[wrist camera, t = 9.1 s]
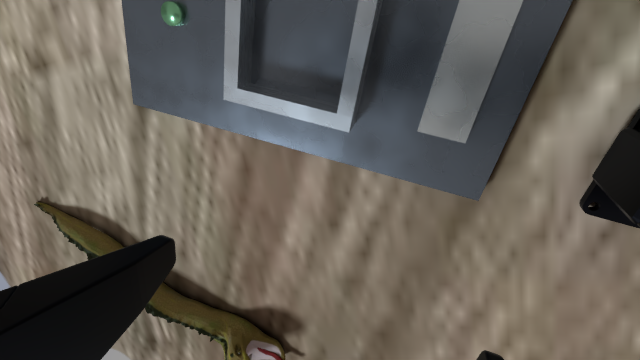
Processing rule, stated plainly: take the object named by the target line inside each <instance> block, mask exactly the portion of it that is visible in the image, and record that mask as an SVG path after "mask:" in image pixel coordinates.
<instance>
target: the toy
mask: <svg viewBox="0 0 640 360" xmlns="http://www.w3.org/2000/svg"><path fill="white" fill-rule="evenodd" d="M34 205H35V206H37V207H39V208H40V209H41V210H42V211H44V212H45V213H47V214H49V215H51V216H52V218H53V220H54V223H55V224H56V225H57V228H59V231H60V232H62V233H63V234H64V237H67V238H68V239H69V241H68V242H71V243H73V244H76V247H78V248H79V250H81V251H84V252H85V253H86V254H87V256H88V260H91V259H93V258H96V257H99V256H102V255H105V254H108V253H110V252H113V251H116V250H119V249H122V248H124V247H123V246H122V245H121V244H120V243H119V242H117V241H116V240H114V239H113V238H111V237H109V236H108V235H107V234H105V233H102V232H100V231H99V230H97V229H95V228H93V227H91V226H90V225H88V224H86V223H84V222H83V221H81V220H79V219H76V218H74V217H71V216H69V215H68V214H66V213H64V212H62V211H60V210H58V209H56V208H54V207H52V206H50V205H48V204H45V203H41V202H36V204H34ZM145 309H146V312H147V313H151V314H152V315H153V316H158V317H161V318H164V319H166V320H167V322H168V323H171V322H173V321H174V322H176V323H179V324H180V323H181V324H182V325H183V326H185V327H190V329H195V330H197V331H198V333H199V335H200V334H201V333H202V334H203V335H207V336H209V337H211V340H210V342H211V341H212V340H213V339H214V340H215V341H217V342H218V343H220V344H221V345H222V347H223V350H224V359H225V360H285V353H284V350H283V348H282V346H281V345H280V343H279V342H278V341H277V340H276V339H274V338H271V337H269V336H267V335H266V334H264V333H263V332H262V331H260V330H259V329H258V328H257V327H255V326H254V325H253V324H251V323H250V322H248V321H247V320H245V319H243V318H241V317H239V316H237V315H234V314H231V313H229V312H226V311H223V310H220V309H215V308H212V307H210V306H207V305H205V304H203V303H200V302H198V301H195V300H193V299H189V298H186V297H184V296H182V295H180V294H179V293H177V292H176V291H174V290H173V289H171V288H170V287H168V286H167V285H165V284H164V283H163V282H162V284H161V285H160V287H159V288H158V290H157V291H156V292H155V294H154V295H153V297H152V298H151V300H150V301H149V302H148V304H147V305H146V307H145Z"/></svg>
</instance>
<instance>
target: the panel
mask: <svg viewBox="0 0 640 360" xmlns="http://www.w3.org/2000/svg"><path fill="white" fill-rule="evenodd" d="M571 2H572V0H122V8H123V17H124V26H125V34H126V43H127V52H128V61H129V69H130V78H131V87H132V96H133V104H135V105H138V106H142V107H146V108H149V109H153V110H156V111H160V112H163V113H167V114H171V115H174V116H178V117H181V118H185V119H188V120H192V121H196V122H199V123H203V124H206V125H210V126H213V127H217V128H220V129H224V130H228V131H231V132H235V133H238V134H242V135H245V136H249V137H253V138H256V139H260V140H263V141H267V142H270V143H274V144H278V145H281V146H285V147H288V148H292V149H295V150H299V151H302V152H306V153H310V154H313V155H317V156H320V157H324V158H327V159H331V160H335V161H338V162H342V163H345V164H349V165H352V166H356V167H360V168H363V169H367V170H370V171H374V172H377V173H381V174H384V175H388V176H392V177H395V178H399V179H402V180H406V181H409V182H413V183H417V184H420V185H424V186H427V187H431V188H434V189H438V190H442V191H445V192H449V193H452V194H456V195H459V196H463V197H466V198H470V199H474V200H477V201H479V198H480V196H481V194H482V192H483V190H484V188H485V186H486V184H487V181H488V179H489V177H490V175H491V173H492V171H493V169H494V166H495V164H496V162H497V160H498V158H499V156H500V154H501V152H502V149H503V147H504V145H505V143H506V141H507V139H508V137H509V135H510V132H511V130H512V128H513V126H514V124H515V122H516V120H517V117H518V115H519V113H520V111H521V109H522V107H523V105H524V103H525V100H526V98H527V96H528V94H529V92H530V90H531V88H532V86H533V83H534V81H535V79H536V77H537V75H538V73H539V71H540V68H541V66H542V64H543V62H544V60H545V58H546V56H547V54H548V51H549V49H550V47H551V45H552V43H553V41H554V39H555V37H556V34H557V32H558V30H559V28H560V26H561V24H562V22H563V20H564V17H565V15H566V13H567V11H568V9H569V7H570V5H571Z"/></svg>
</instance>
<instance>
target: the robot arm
mask: <svg viewBox="0 0 640 360" xmlns="http://www.w3.org/2000/svg"><path fill="white" fill-rule="evenodd" d="M592 177H593V179H594V180H593V181H592V183H591V185H590V186H589V188H588V189H587V191H586V192H585V194H584V195H583V197H582V198H581V200H580V207H581V208H582V210H583V211H584V212H585V213H587V214H589V215H592V216H596V217H600V218H603V219H607V220H611V221H615V222H618V223H622V224H626V225H629V226H633V227H637V228H640V109H639V110H638V112H637V113H636V115H635V117H634V118H633V120H632V121H631V123H630V124H629V126H628V127H627V128H626V129H624V130H622V131H621V132H620V133H619V135H618V136H617V138H616V139H615V141H614V143H613V144H612V146H611V147H610V149H609V150H608V152H607V154H606V155H605V157H604V158H603V160H602V161H601V163H600V164H599V166H598V168H597V169H596V171H595V172H594V174H593V176H592ZM593 202H597V204H596V205H595V206H593V207H588V206H589V204H590V203H593ZM175 261H176V252H175V241H174V240H173V239H172V238H169V237H166V236H164V235H159V236H156V237H153V238H150V239H147V240H145V241H142V242H139V243H136V244H133V245H130V246H128V247H125V248H122V249H119V250H116V251H113V252H110V253H108V254H105V255H102V256H99V257H96V258H93V259H91V260H88V261H85V262H82V263H79V264H76V265H73V266H71V267H68V268H65V269H62V270H59V271H56V272H54V273H51V274H48V275H45V276H42V277H39V278H36V279H34V280H31V281H28V282H25V283H22V284H20V285H19V286H13V287H11V288H8V289H5V290H2V291H0V360H101V359H102V357H103V356H104V355H105V354H106V353H107V352H108V351H109V349H110V348H111V347H112V346H113V345H114V344H115V342H116V341H117V340H118V339H119V338H120V337H121V335H122V334H123V333H124V332H125V331H126V330H127V328H128V327H129V326H130V325H131V324H132V322H133V321H134V320H135V319H136V318H137V317H138V315H139V314H140V313H141V312H142V310H143V309H144V308H145V307H146V305H147V304H148V302H149V301H150V300H151V298H152V297H153V295H154V294H155V292H156V291H157V290H158V288H159V287H160V285H161V284H162V282H163V281H164V279H165V278H166V277H167V275H168V274H169V272H170V271H171V269H172V268H173V266H174V264H175ZM477 360H504V359H503V358H502V357H501V356H500V355H498V354H495V353H492V352H489V351H486V350H484V351H482V352H481V354H480V355H479V357H478V358H477Z"/></svg>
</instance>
